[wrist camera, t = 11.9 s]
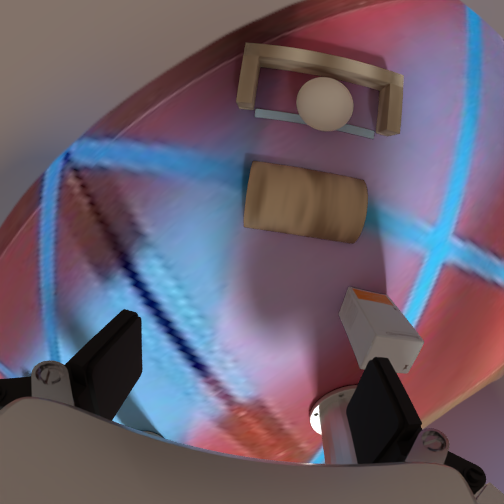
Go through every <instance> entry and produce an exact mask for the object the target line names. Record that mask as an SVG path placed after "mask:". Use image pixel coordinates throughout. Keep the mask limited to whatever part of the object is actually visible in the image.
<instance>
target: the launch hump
mask: <svg viewBox="0 0 504 504" xmlns="http://www.w3.org/2000/svg"><path fill="white" fill-rule="evenodd" d="M367 204H368V193H367V186H366V183H365V181H364V180H361V179H357V178H352V177H347V176H342V175H337V174H332V173H327V172H322V171H316V170H310V169H305V168H299V167H293V166H286V165H280V164H273V163H266V162H259V161H253V162H252V166H251V170H250V176H249V181H248V188H247V195H246V202H245V212H244V227H246V228H253V229H260V230H267V231H274V232H280V233H287V234H293V235H300V236H306V237H313V238H319V239H326V240H332V241H338V242H344V243H350V244H353V243H355V242H356V241H357V239H358V238H359V236H360V234H361V232H362V229H363V226H364V222H365V218H366V213H367Z"/></svg>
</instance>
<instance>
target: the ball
mask: <svg viewBox="0 0 504 504" xmlns="http://www.w3.org/2000/svg"><path fill="white" fill-rule="evenodd" d="M296 105H297V110H298V113H299V115H300V117H301V118H302V120H303V121H304V122H305V123H306V124H307V125H309V126H310V127H312V128H314V129H316V130H320V131H334V130H337V129H339V128H341V127H343V126H344V125H345V124H346V123H347V122H348V121H349V119H350V118H351V116H352V113H353V99H352V96H351V94H350V92H349V91H348V89H347V88H346V87H345V86H344V85H343V84H342V83H340V82H339V81H337V80H335V79H332V78H328V77H318V78H314V79H311V80H310V81H308V82H306V83H305V84H304V85H303V86H302V87H301V89H300V90H299V92H298V95H297V100H296Z"/></svg>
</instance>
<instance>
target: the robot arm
mask: <svg viewBox="0 0 504 504" xmlns="http://www.w3.org/2000/svg"><path fill="white" fill-rule="evenodd" d="M141 373H142V333H141V318H140V317H138V314H137V313H136V312H133V311H129V310H126V309H124V310H122V311H121V312H120V313H119V314H118V315H117V316H116V317H115V318H113V319H112V320H111V321H110V322H109V323H108V324H107V325H106V326H105V327H104V328H103V329H102V330H101V331H100V332H99V333H98V334H96V335H95V336H94V337H93V338H92V339H91V340H90V341H89V342H88V343H87V344H86V345H85V346H84V347H83V348H81V349H80V350H79V351H78V352H77V353H76V354H75V355H74V356H73V357H72V358H71V359H70V360H69V361H68V362H67V363H66V364H65V365H63V364H62V363H60V362H57V361H43V362H41V363H39V364H37V365H36V366H35V367H34V368H33V370H32V374H31V377H21V378H9V379H0V504H504V494H503V493H501V492H500V491H499V490H498V489H497V488H496V487H494V486H493V485H492V484H491V483H488V484H487V485H486V484H485V482H486V476H485V473H484V471H483V470H482V469H481V468H480V467H479V466H477V465H475V464H473V463H471V462H469V461H467V460H465V459H463V458H461V457H459V456H457V455H455V454H453V453H451V452H449V451H448V450H449V440H448V438H447V436H446V435H445V434H444V433H442V432H441V431H439V430H437V429H434V428H426V429H423V430H422V428H421V424H422V422H421V420H420V418H419V416H418V414H417V412H416V410H415V408H414V406H413V404H412V402H411V400H410V398H409V396H408V394H407V392H406V390H405V389H404V387H403V385H402V383H401V381H400V379H399V377H398V375H397V373H396V372H395V370H394V368H393V366H392V364H391V362H390V360H389V359H388V358H384V357H374V358H373V359H372V360H369V362H368V364H367V366H366V368H365V370H364V373H363V375H362V377H361V379H360V381H359V383H358V385H352V386H346V387H342V388H339V389H336V390H334V391H332V392H330V393H328V394H326V395H325V396H323V397H322V398H320V399H319V400H318V401H317V402H316V403H315V405H314V406H313V407H312V409H311V412H310V423H311V426H312V428H313V429H314V430H315V431H316V432H318V433H319V434H322V442H323V449H324V456H325V464H311V463H295V462H283V461H273V460H265V459H257V458H250V457H243V456H237V455H232V454H226V453H221V452H216V451H211V450H207V449H202V448H198V447H194V446H190V445H186V444H182V443H178V442H174V441H171V440H167V439H164V438H161V437H157V436H154V435H151V434H148V433H145V432H142V431H139V430H136V429H133V428H130V427H127V426H124V425H122V424H119V423H116V422H114V421H112V420H113V418H114V417H115V415H116V413H117V412H118V410H119V409H120V407H121V406H122V404H123V402H124V401H125V399H126V398H127V396H128V395H129V393H130V391H131V390H132V388H133V387H134V385H135V384H136V382H137V381H138V379H139V377H140V376H141Z"/></svg>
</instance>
